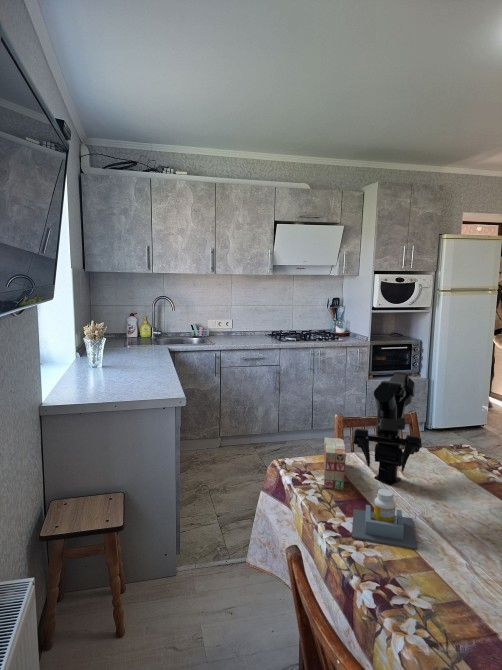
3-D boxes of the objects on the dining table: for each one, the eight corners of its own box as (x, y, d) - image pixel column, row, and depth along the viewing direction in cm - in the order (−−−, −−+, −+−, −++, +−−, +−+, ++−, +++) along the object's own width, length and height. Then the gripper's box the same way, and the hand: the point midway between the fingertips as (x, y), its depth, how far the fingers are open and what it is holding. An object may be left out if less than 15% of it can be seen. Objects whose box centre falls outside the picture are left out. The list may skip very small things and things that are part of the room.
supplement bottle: (372, 519, 121) (375, 486, 120) (393, 522, 120) (395, 489, 119) (373, 530, 116) (375, 495, 115) (394, 533, 115) (396, 498, 113)
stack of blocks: (323, 461, 161) (324, 428, 159) (340, 462, 160) (342, 430, 158) (324, 488, 140) (326, 451, 138) (343, 490, 139) (346, 453, 137)
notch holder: (353, 510, 126) (354, 497, 126) (412, 520, 122) (413, 506, 122) (351, 538, 113) (352, 523, 112) (417, 549, 109) (418, 534, 108)
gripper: (356, 402, 129) (353, 452, 120) (424, 409, 124) (425, 462, 115) (354, 419, 137) (351, 467, 128) (417, 427, 133) (418, 477, 124)
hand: (385, 468), depth 124 cm, fingers open, 9 cm apart
